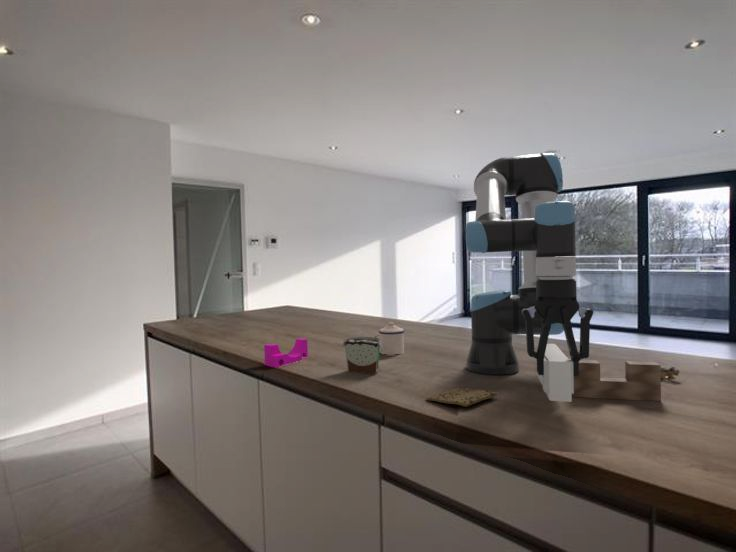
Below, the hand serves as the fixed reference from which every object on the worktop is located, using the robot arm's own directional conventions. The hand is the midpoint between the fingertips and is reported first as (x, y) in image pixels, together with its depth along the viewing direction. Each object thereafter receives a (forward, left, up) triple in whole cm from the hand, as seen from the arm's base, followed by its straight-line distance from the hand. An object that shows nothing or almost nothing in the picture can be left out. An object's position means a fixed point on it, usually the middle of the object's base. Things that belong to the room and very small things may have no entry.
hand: (557, 390), depth 86 cm
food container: (-49, +29, -5) cm, 57 cm away
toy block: (-77, +34, -5) cm, 85 cm away
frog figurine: (+29, +33, -5) cm, 45 cm away
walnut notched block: (+14, +14, -5) cm, 20 cm away
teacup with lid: (-47, +53, -5) cm, 71 cm away
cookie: (-20, +7, -5) cm, 22 cm away
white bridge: (0, +6, -1) cm, 6 cm away
